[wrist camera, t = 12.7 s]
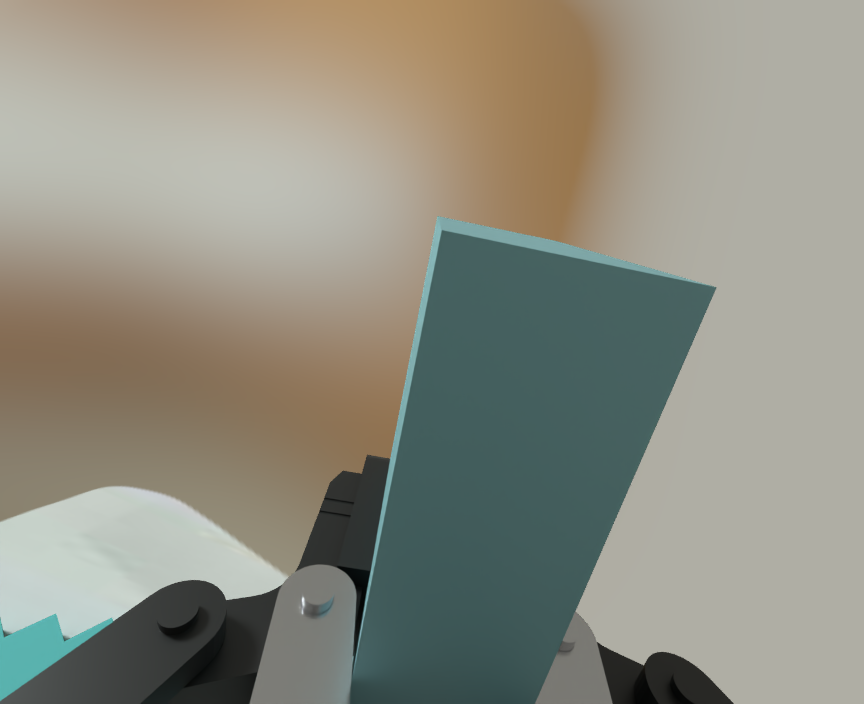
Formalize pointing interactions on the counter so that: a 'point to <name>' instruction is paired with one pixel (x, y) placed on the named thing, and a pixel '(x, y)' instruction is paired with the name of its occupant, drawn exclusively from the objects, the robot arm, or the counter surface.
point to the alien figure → (35, 651)
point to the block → (511, 458)
